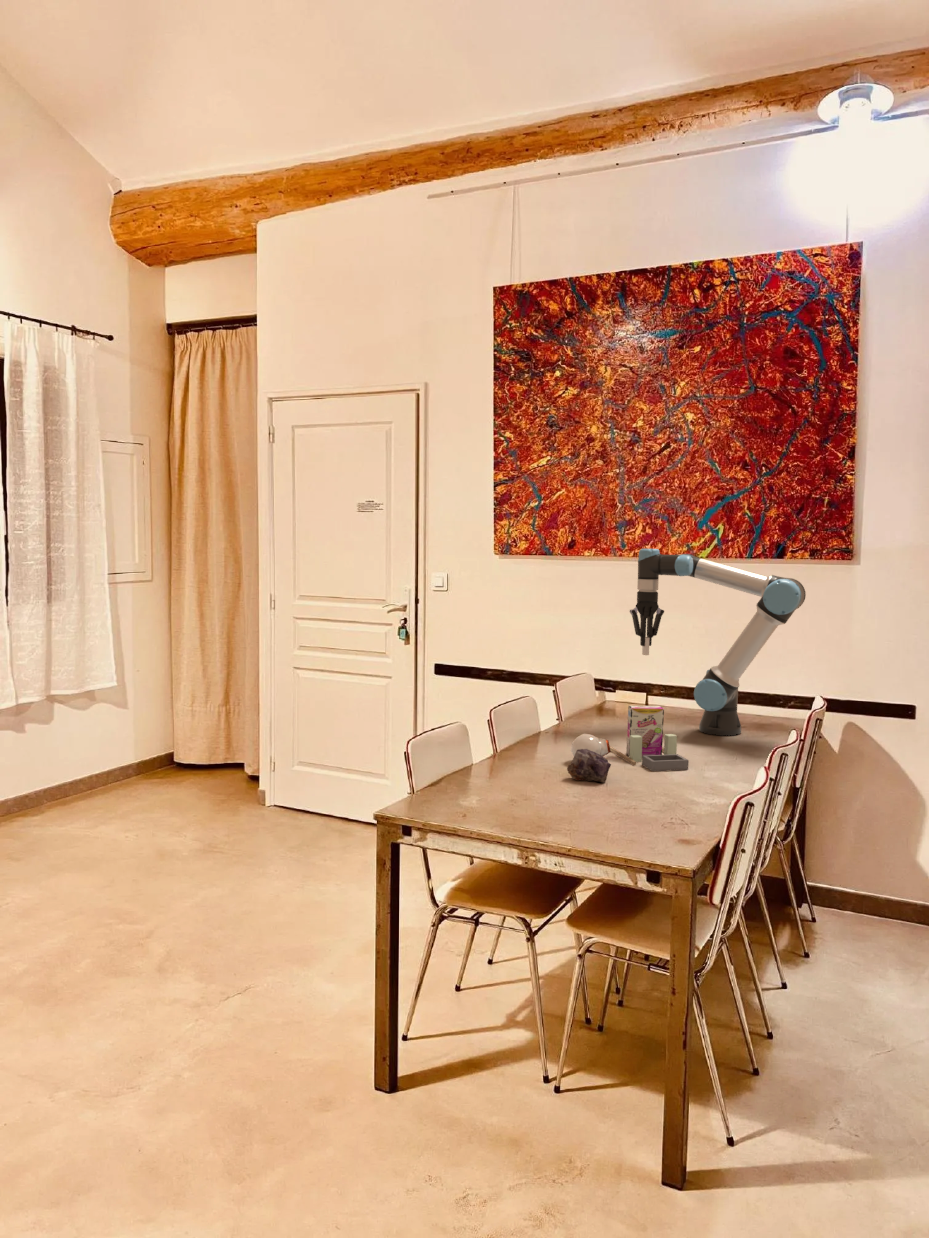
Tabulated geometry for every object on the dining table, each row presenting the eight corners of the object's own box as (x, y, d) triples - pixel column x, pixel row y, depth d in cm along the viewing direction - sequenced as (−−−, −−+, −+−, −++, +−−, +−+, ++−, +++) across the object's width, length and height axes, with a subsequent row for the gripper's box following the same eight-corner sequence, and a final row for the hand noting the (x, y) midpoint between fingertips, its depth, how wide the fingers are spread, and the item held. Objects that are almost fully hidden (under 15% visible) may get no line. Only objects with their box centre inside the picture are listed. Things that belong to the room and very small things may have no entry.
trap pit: (677, 763, 309) (677, 754, 309) (688, 769, 301) (688, 760, 301) (642, 764, 306) (642, 755, 306) (652, 771, 299) (652, 761, 298)
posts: (672, 757, 316) (673, 733, 315) (676, 760, 313) (677, 735, 312) (629, 759, 313) (629, 735, 312) (632, 761, 310) (633, 737, 309)
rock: (600, 789, 281) (611, 781, 290) (605, 762, 279) (616, 754, 288) (563, 778, 286) (575, 770, 295) (568, 751, 284) (580, 743, 293)
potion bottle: (573, 769, 304) (597, 766, 316) (596, 755, 300) (620, 752, 311) (560, 743, 308) (584, 741, 320) (583, 728, 303) (607, 727, 315)
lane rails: (652, 744, 335) (652, 741, 335) (685, 762, 310) (685, 759, 309) (603, 746, 331) (603, 743, 331) (633, 765, 306) (633, 761, 306)
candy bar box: (629, 757, 316) (630, 707, 315) (625, 753, 321) (627, 705, 320) (662, 757, 317) (664, 708, 315) (659, 753, 322) (660, 705, 320)
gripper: (660, 590, 359) (657, 653, 361) (627, 590, 356) (625, 653, 358) (668, 591, 351) (666, 655, 354) (634, 591, 348) (632, 656, 351)
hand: (645, 654), depth 356 cm, fingers closed
